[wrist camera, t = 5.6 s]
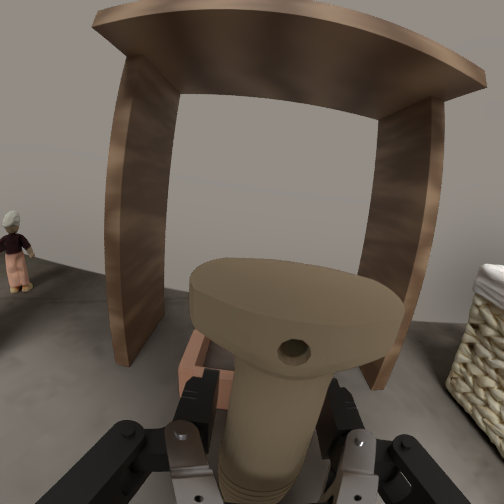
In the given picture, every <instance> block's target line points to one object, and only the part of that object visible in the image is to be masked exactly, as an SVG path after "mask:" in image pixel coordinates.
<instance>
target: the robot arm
mask: <svg viewBox="0 0 504 504" xmlns="http://www.w3.org/2000/svg"><path fill="white" fill-rule="evenodd" d="M219 376H220V370H217V369H210V368H204V371H203V375H202V377H195V376H192V377H191V378H190V379H189V380H188V381H187V382H186V384H185V387H184V389H183V392H182V395H181V398H180V401H179V404H178V407H177V410H176V413H175V416H174V419H173V421H172V422H170V423H169V424H168V425H167V426H166V427H163V428H159V429H143V427H142V426H141V425H140V424H139V423H137V422H135V421H132V420H123V421H119V422H117V423H116V424H115V425H114V426H113V427H112V428H111V429H110V430H109V431H108V432H107V433H106V434H105V435H104V436H103V437H102V438H101V439H100V440H99V441H98V442H97V443H96V444H95V445H94V446H93V447H92V448H91V449H90V450H89V451H88V452H87V453H86V454H85V455H84V456H83V457H82V458H81V459H80V460H79V461H78V462H77V463H76V464H75V465H74V466H73V467H72V468H71V469H70V470H69V471H68V472H67V473H66V474H65V475H64V476H63V477H62V478H61V479H60V480H59V481H58V482H57V483H56V484H55V485H54V486H53V487H52V488H51V489H50V490H49V491H48V492H47V493H46V494H44V495H43V496H42V497H41V498H40V499H39V500H38V501H37V502H36V503H35V504H128V503H129V502H130V500H131V499H132V498H133V496H134V495H135V494H136V492H137V491H138V490H139V488H140V487H141V486H142V484H143V483H144V482H145V480H146V479H147V477H148V476H149V475H150V473H151V472H162V471H170V472H171V477H172V482H173V487H174V492H175V496H176V501H177V504H241V503H230V502H223V500H222V498H221V495H220V492H219V489H218V486H217V483H216V480H215V477H214V474H213V471H212V469H211V468H209V465H208V462H207V459H206V455H205V453H206V454H208V452H209V446H210V440H211V435H212V429H213V424H214V418H215V412H216V407H217V401H218V392H219ZM316 430H317V435H318V440H319V446H320V451H321V456H322V459H330V462H331V464H330V465H329V467H328V470H327V474H326V478H325V482H324V485H323V489H322V492H321V495H320V498H319V500H318V502H317V503H311V504H376V498H377V492H378V493H379V495H380V496H381V498H382V499H383V501H384V502H385V504H471V503H470V502H469V500H468V499H467V498H466V497H465V496H464V495H463V493H462V492H461V491H460V490H459V489H458V488H457V486H456V485H455V484H454V483H453V482H452V481H451V479H450V478H449V477H448V476H447V475H446V473H445V472H444V471H443V470H442V469H441V468H440V466H439V465H438V464H437V463H436V462H435V461H434V459H433V458H432V457H431V456H430V455H429V454H428V452H427V451H426V450H425V449H424V448H423V447H422V445H421V444H420V443H419V442H418V441H417V440H416V439H415V438H414V437H413V436H410V435H406V434H402V435H399V436H397V437H396V438H395V439H394V440H393V441H387V440H379V439H376V438H375V436H374V435H373V434H372V433H371V432H370V431H368V430H365V428H364V426H363V423H362V420H361V418H360V415H359V413H358V410H357V409H356V405H355V403H354V400H353V397H352V395H351V393H350V392H349V391H348V390H347V389H346V388H345V387H343V388H340V387H339V384H338V381H337V379H336V378H332V380H331V382H330V384H329V387H328V390H327V393H326V396H325V400H324V403H323V406H322V409H321V412H320V415H319V418H318V421H317V424H316ZM401 472H402V473H403V475H404V476H405V477H406V479H407V480H408V481H409V483H410V484H411V486H410V484H409V483H408V482H407V480H406V479H405V478H404V476H403V475H402V474H401Z"/></svg>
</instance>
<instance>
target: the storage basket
mask: <svg viewBox="0 0 504 504" xmlns="http://www.w3.org/2000/svg"><path fill="white" fill-rule="evenodd" d="M473 291H474V292H475V295H474V297H473V303H472V305H471V308H470V312H469V320H468V323H467V325H466V328H465V333H464V334H463V336H462V342H461V344H460V346H459V348H458V351H457V353H456V356H455V360H454V362H453V364H452V368H451V371H450V373H449V376H448V378H447V380H446V382H445V386H446V388H447V389H448V391H449V392H450V393H451V395H452V396H453V397H454V398H455V399H456V401H457V402H458V403H459V404H460V405H461V406H462V407H463V408H464V409H465V411H466V412H467V413H469V414H470V416H471V417H472V418H473V419H474V420H475V422H476V424H477V425H478V426H479V427H480V428H481V429H482V430H483V431H484V432H485V433H486V434H487V435H488V437H489V438H490V441H491V442H492V443H494V444H495V445H496V447H497V449H498V451H499V452H500V454H501V456H502V458H503V459H504V266H502V265H492V264H484V265H482V266H481V267H480V269H479V271H478V274H477V277H476V279H475V281H474V284H473ZM474 329H476V331H475V330H474Z"/></svg>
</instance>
